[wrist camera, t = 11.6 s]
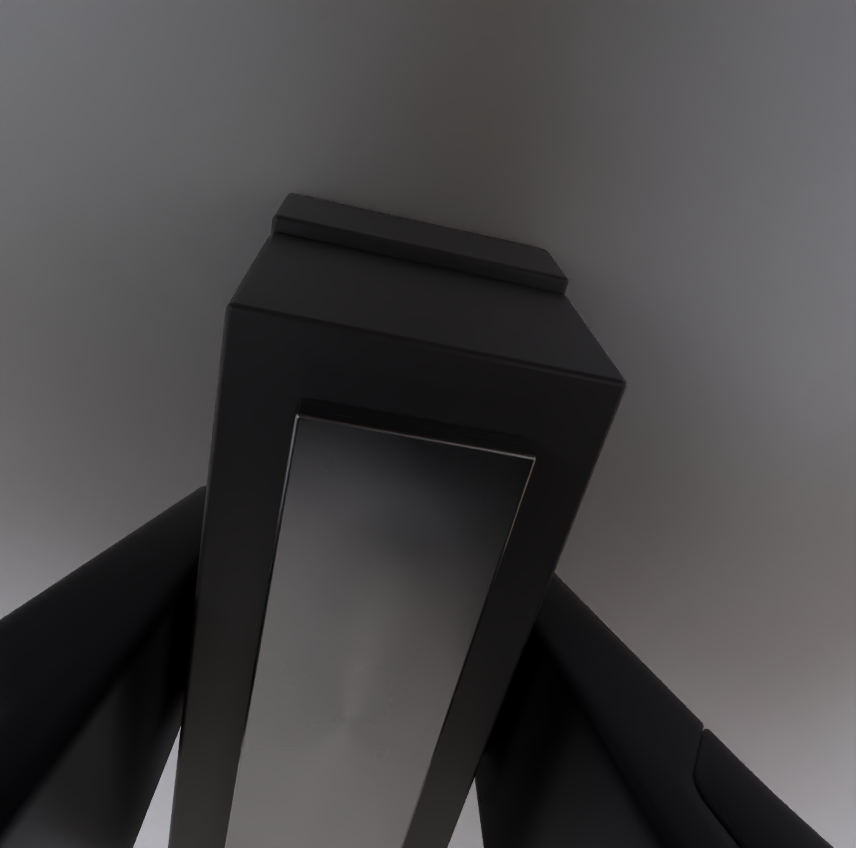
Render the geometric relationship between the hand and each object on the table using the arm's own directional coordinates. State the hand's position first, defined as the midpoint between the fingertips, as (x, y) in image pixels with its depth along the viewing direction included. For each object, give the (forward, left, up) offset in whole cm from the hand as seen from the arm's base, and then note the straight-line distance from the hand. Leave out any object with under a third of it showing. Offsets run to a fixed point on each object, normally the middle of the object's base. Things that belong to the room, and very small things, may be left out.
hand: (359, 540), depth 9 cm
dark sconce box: (0, 0, -1) cm, 1 cm away
